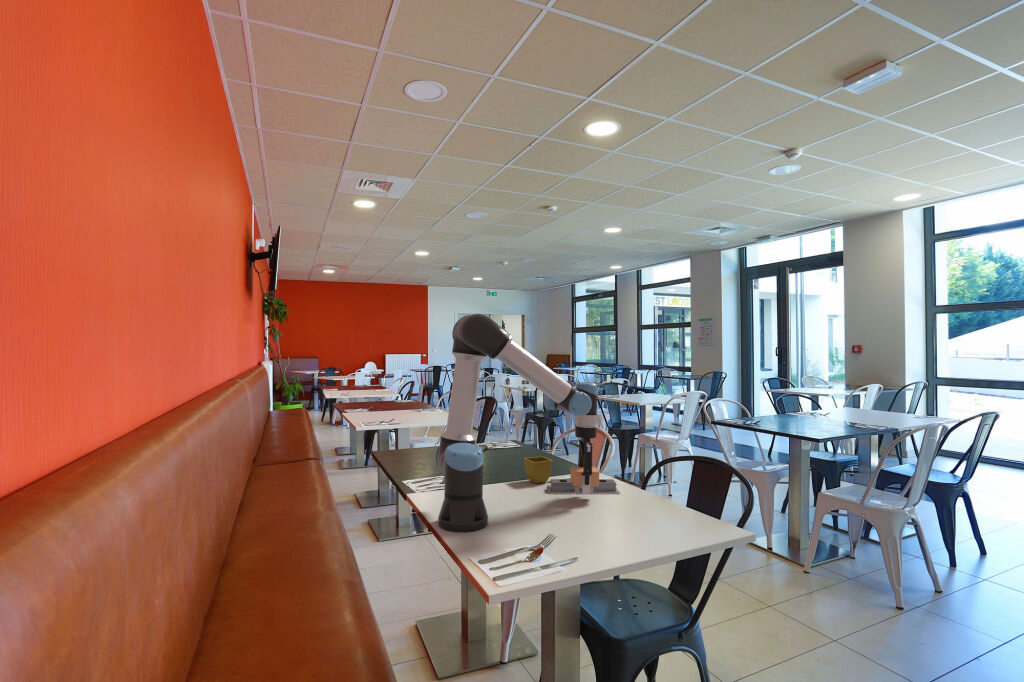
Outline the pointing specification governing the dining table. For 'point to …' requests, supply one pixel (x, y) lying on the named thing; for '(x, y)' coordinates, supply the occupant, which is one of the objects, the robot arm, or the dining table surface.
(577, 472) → the orange tapered block
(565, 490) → the rail
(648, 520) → the dining table surface
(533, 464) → the flower pot
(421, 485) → the dining table surface
